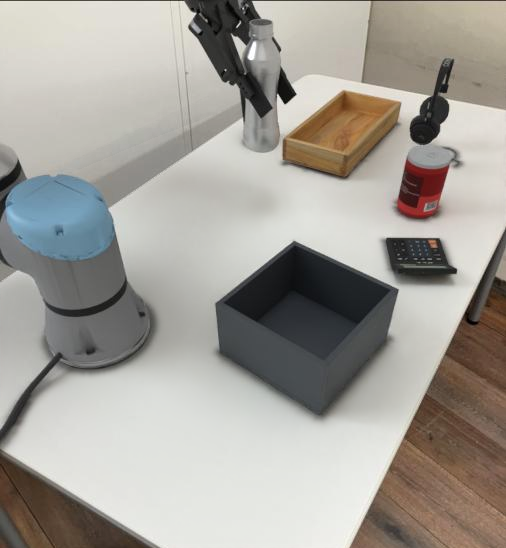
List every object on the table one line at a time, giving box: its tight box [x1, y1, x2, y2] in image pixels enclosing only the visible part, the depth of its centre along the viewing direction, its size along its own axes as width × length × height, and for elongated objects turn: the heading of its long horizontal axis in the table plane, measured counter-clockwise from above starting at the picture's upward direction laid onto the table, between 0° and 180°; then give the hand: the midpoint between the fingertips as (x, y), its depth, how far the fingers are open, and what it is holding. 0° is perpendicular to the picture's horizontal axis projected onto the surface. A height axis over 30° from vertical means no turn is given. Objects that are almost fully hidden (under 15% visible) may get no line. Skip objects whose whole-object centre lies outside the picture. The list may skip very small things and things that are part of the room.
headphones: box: [408, 57, 460, 167], centre depth 104 cm, size 15×11×20 cm
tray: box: [281, 89, 402, 178], centre depth 116 cm, size 31×15×6 cm, turn 149°
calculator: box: [385, 237, 458, 275], centre depth 87 cm, size 9×12×3 cm
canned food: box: [396, 144, 453, 219], centre depth 95 cm, size 8×8×11 cm
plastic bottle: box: [240, 18, 282, 154], centre depth 84 cm, size 6×7×20 cm
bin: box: [214, 240, 400, 416], centre depth 72 cm, size 18×18×10 cm
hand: (278, 106), depth 84 cm, fingers closed on plastic bottle, 6 cm apart
